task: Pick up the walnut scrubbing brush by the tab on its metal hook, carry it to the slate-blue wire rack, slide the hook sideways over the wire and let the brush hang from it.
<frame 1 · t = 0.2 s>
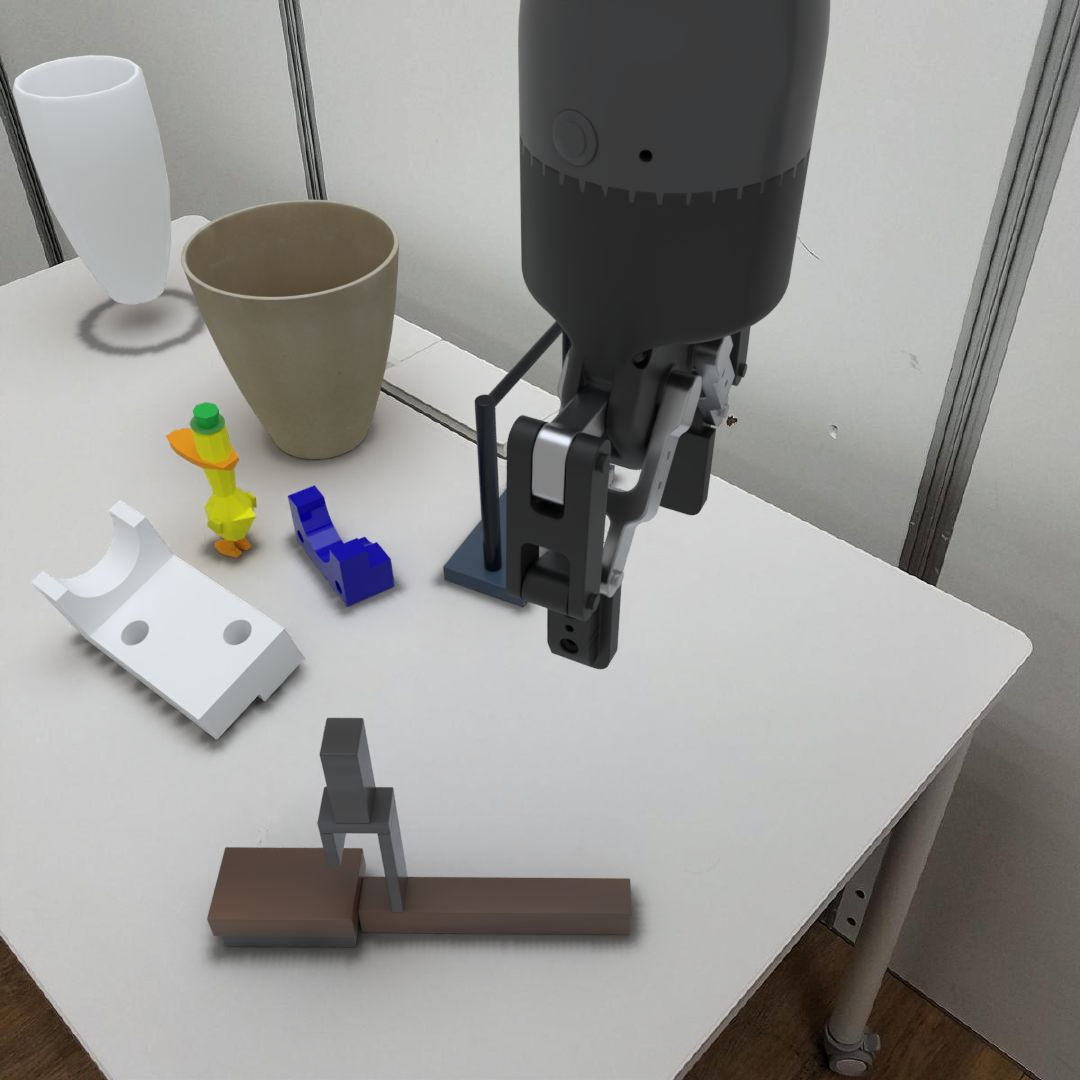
hand: (632, 574, 39), 25 cm above the table, tool pointing down, fingers open, 8 cm apart
plant pot: (323, 432, 88), on the table
bracket: (184, 663, 70), on the table
cup: (146, 322, 101), on the table
toy figure: (232, 548, 78), on the table
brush: (393, 914, 57), on the table
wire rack: (533, 526, 79), on the table
cable holder: (344, 564, 77), on the table
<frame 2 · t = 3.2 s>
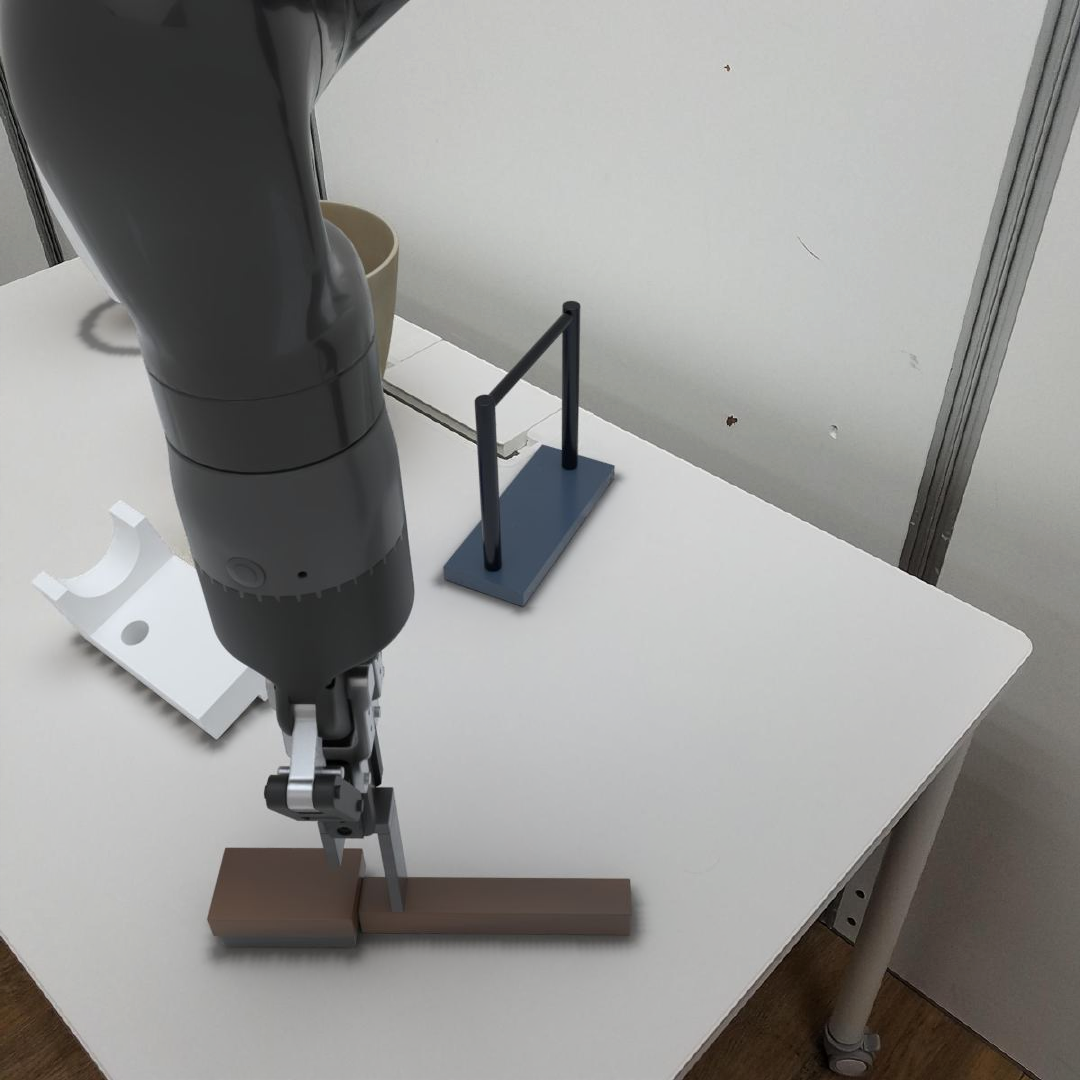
hand: (355, 803, 50), 10 cm above the table, tool pointing down, fingers closed on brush, 2 cm apart
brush: (393, 915, 57), on the table, touching gripper
everything else where it was.
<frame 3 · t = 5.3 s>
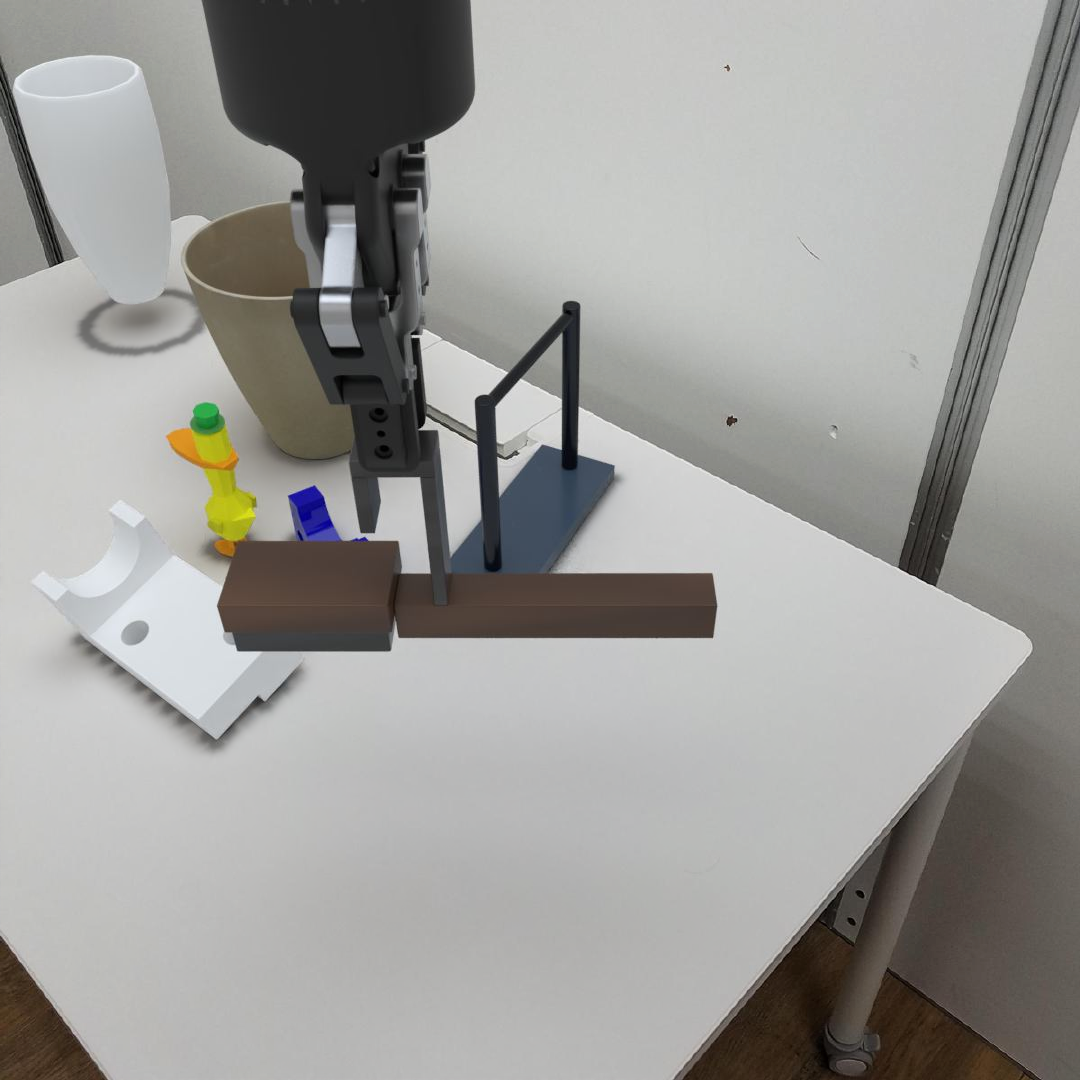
hand: (395, 443, 42), 27 cm above the table, tool pointing down, fingers closed on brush
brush: (434, 621, 49), point 17 cm above the table, touching gripper
everything else where it was.
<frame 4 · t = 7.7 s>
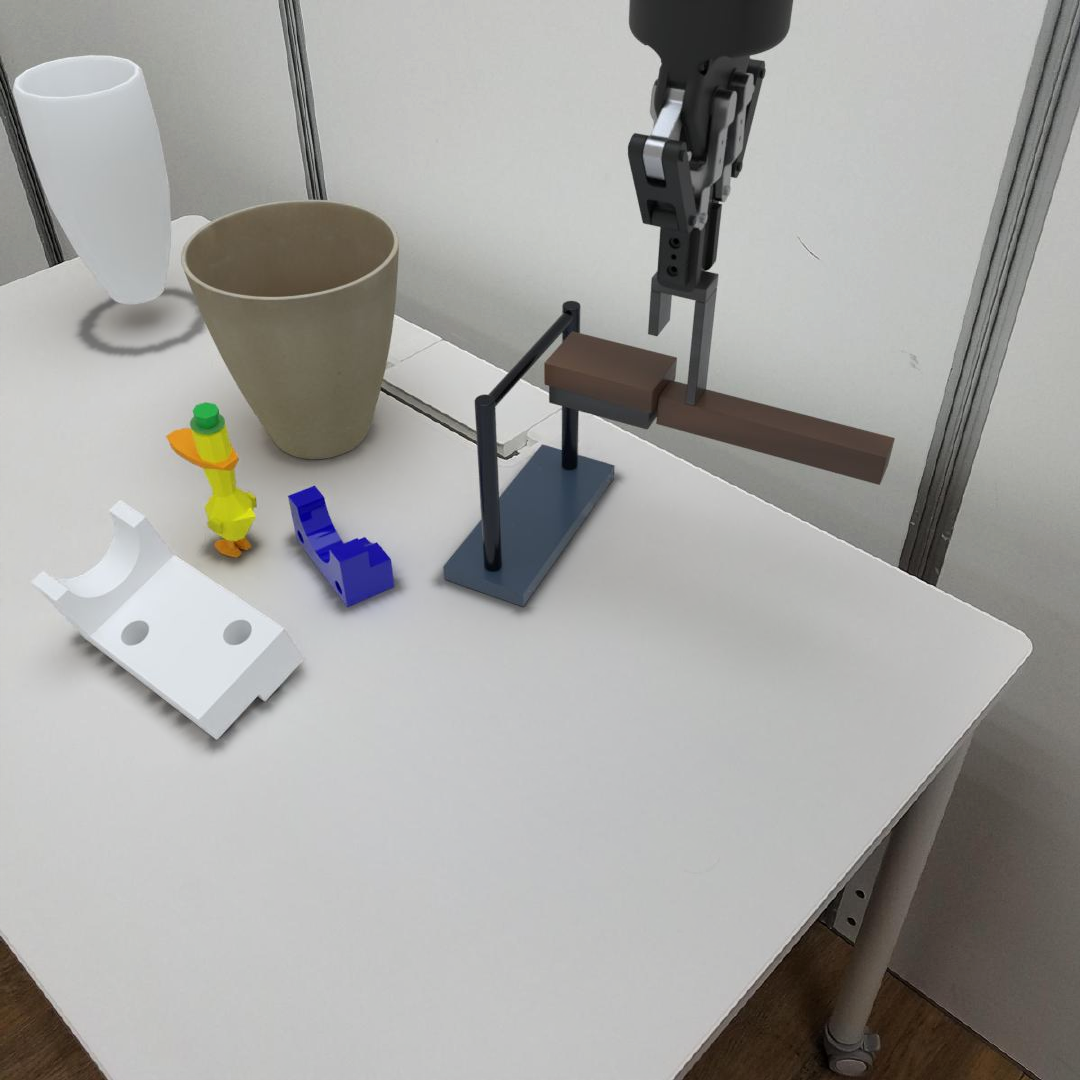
hand: (686, 274, 61), 22 cm above the table, tool pointing down, fingers closed on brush
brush: (685, 421, 67), point 12 cm above the table, touching gripper
everything else where it was.
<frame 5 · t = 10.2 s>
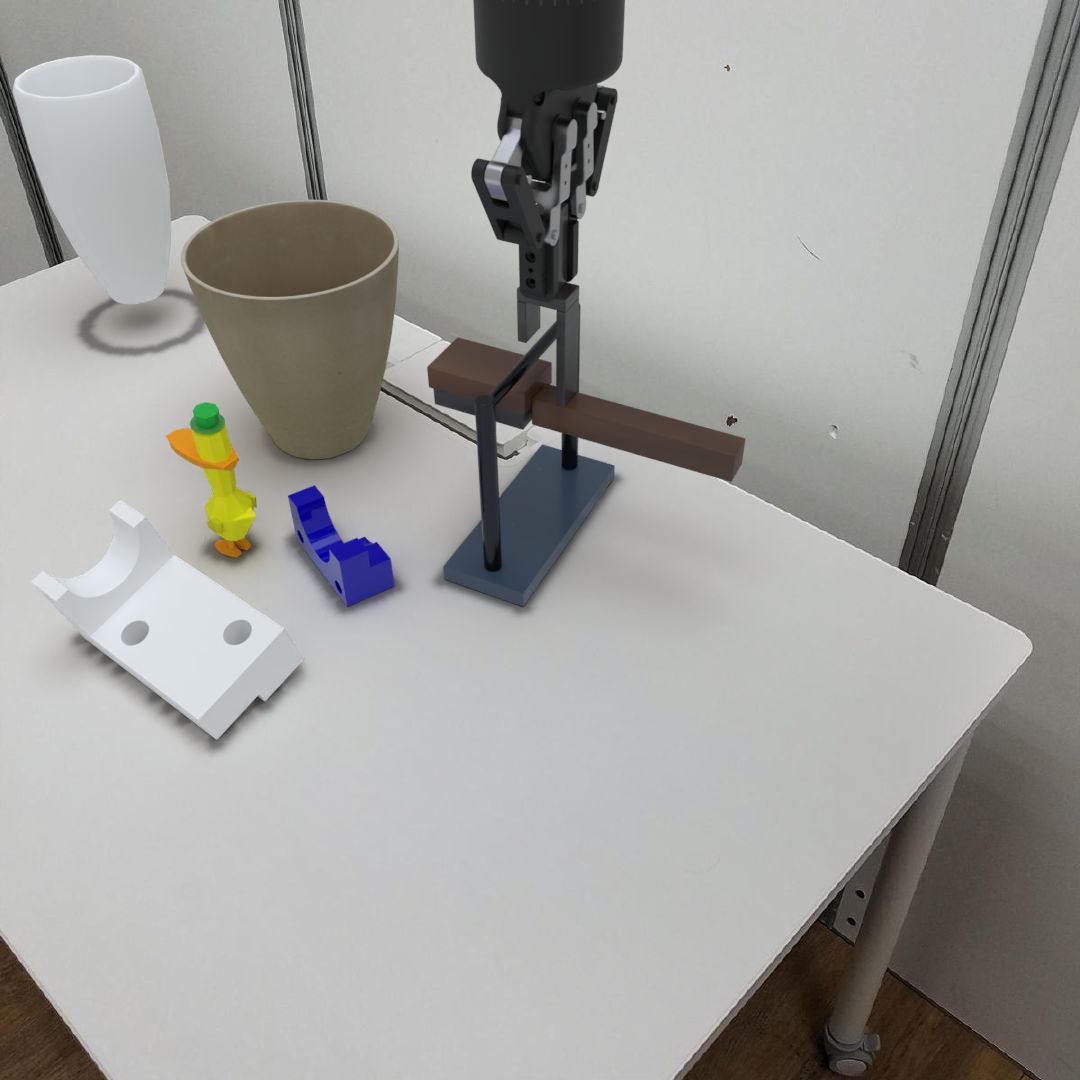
hand: (549, 285, 66), 19 cm above the table, tool pointing down, fingers closed on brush
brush: (559, 422, 72), point 10 cm above the table, touching gripper
everything else where it was.
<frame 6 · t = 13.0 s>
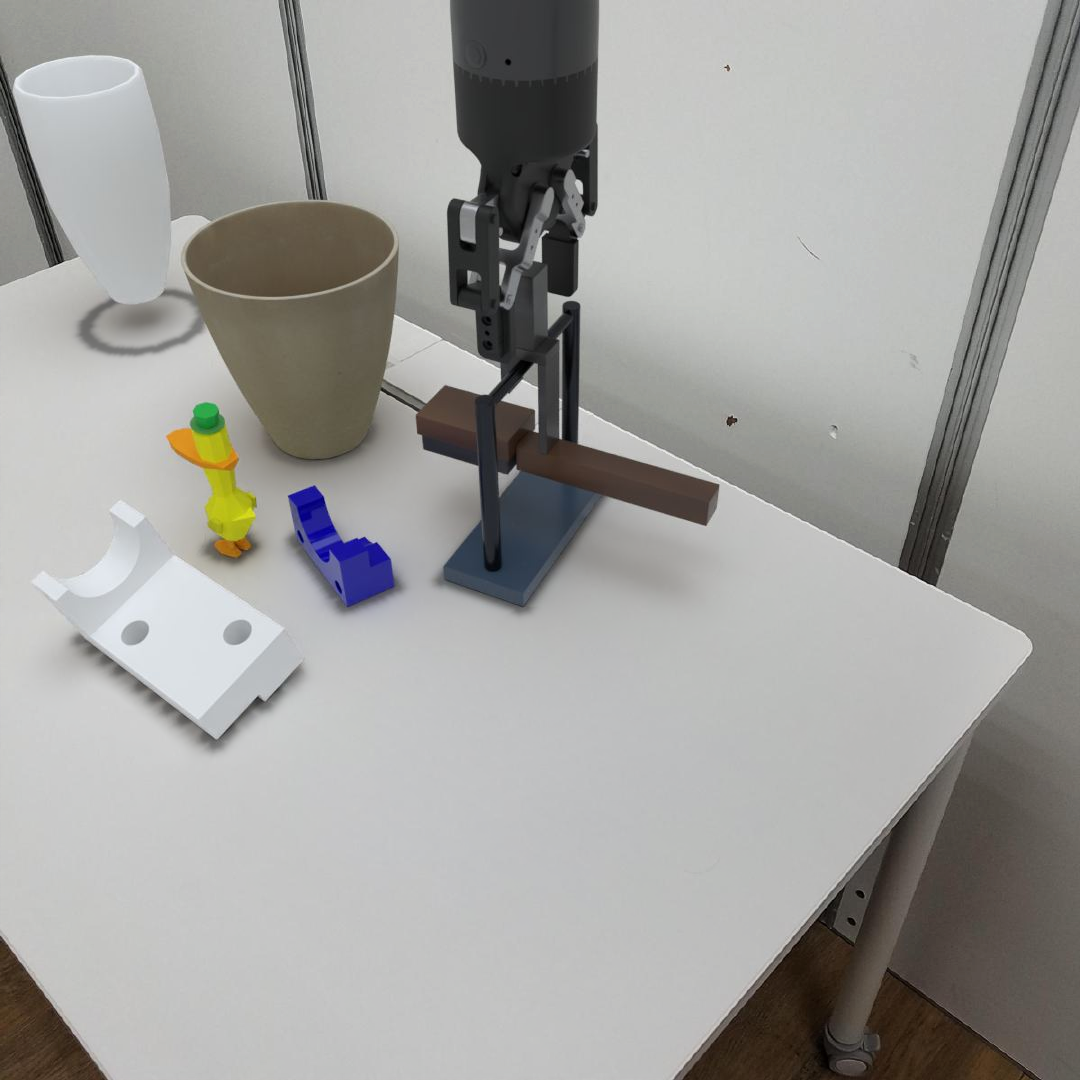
hand: (530, 323, 68), 16 cm above the table, tool pointing down, fingers open, 8 cm apart
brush: (542, 467, 75), point 6 cm above the table, touching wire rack
everything else where it was.
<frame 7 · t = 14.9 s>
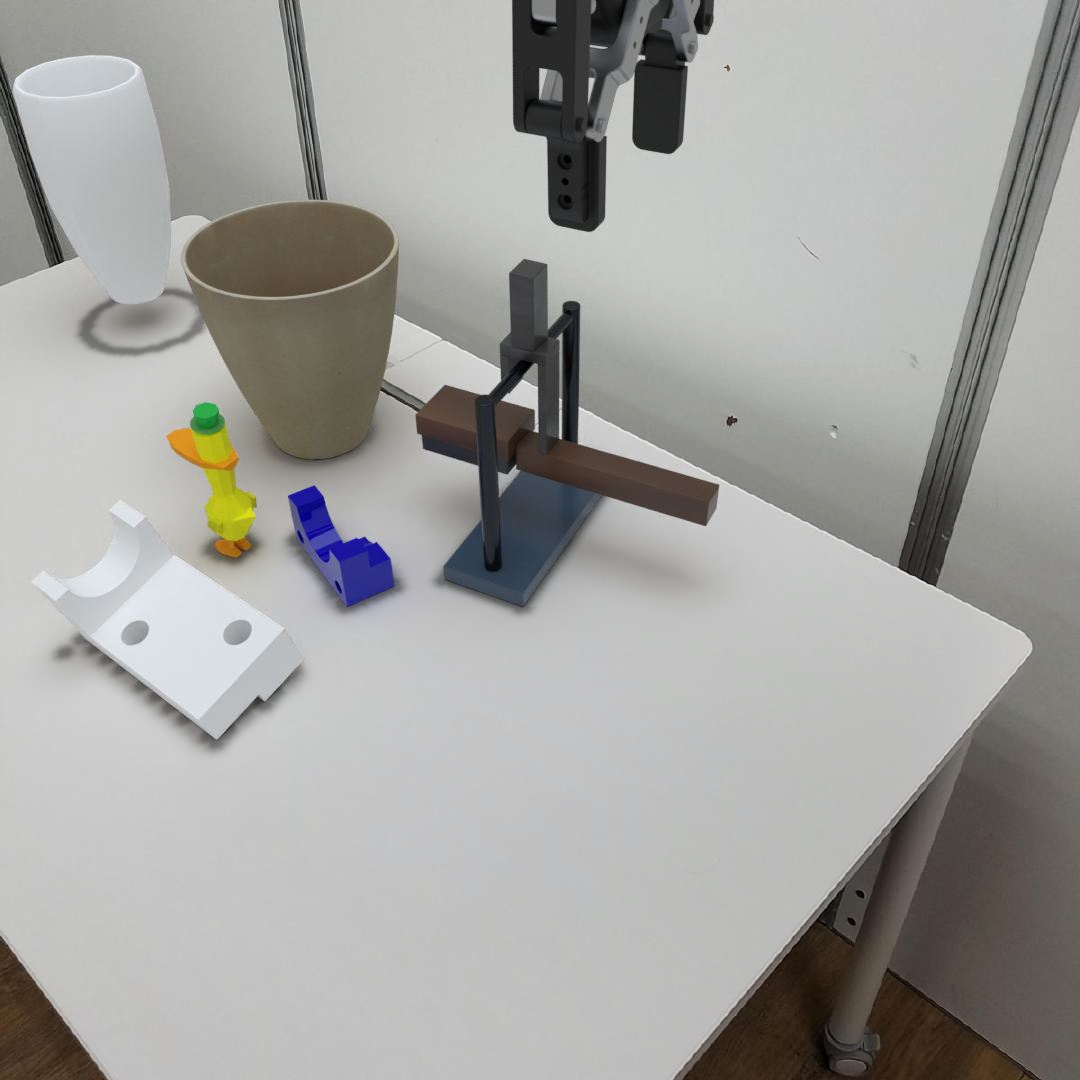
hand: (619, 184, 48), 31 cm above the table, tool pointing down, fingers open, 8 cm apart
nothing on the table moved.
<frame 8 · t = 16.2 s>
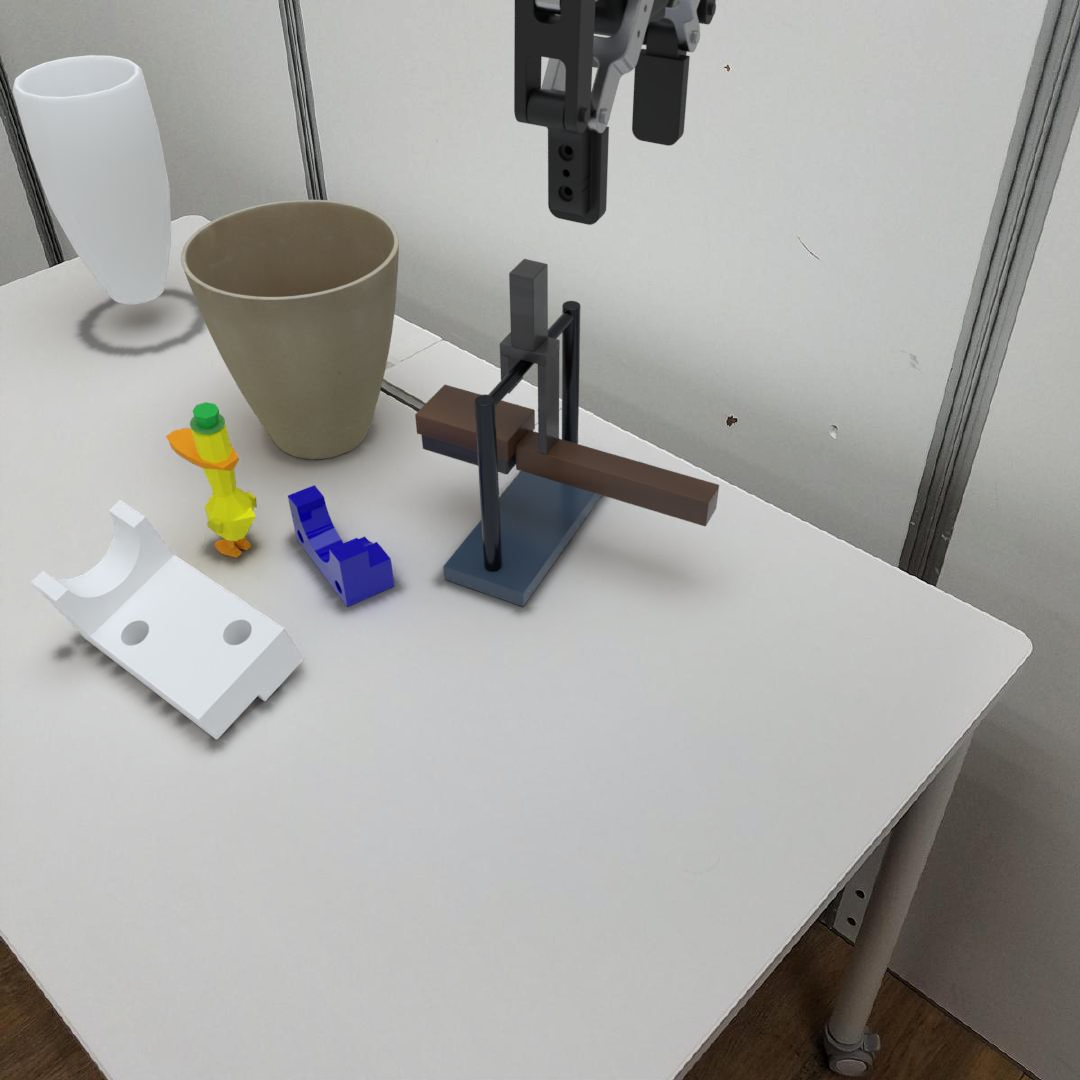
hand: (619, 176, 47), 32 cm above the table, tool pointing down, fingers open, 8 cm apart
nothing on the table moved.
at the end: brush 0.2 cm from the target spot on the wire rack, point 5.6 cm above the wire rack's base; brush touching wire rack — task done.
